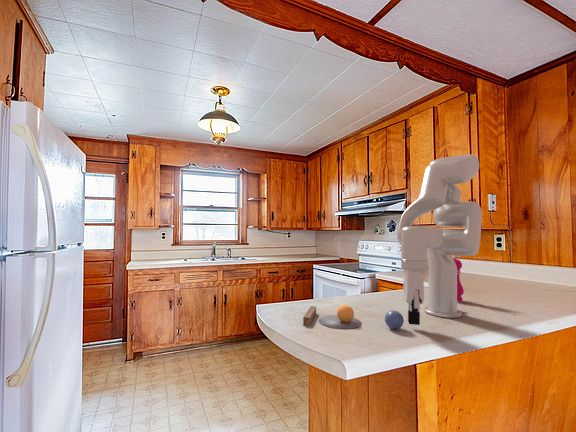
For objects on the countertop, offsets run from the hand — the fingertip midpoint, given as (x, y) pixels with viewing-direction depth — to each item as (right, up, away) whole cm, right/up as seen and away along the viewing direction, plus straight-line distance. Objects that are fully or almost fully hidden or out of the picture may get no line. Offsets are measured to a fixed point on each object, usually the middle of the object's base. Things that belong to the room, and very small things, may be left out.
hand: (413, 323), depth 94 cm
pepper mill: (+34, -4, +38) cm, 51 cm away
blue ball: (-6, +1, 0) cm, 7 cm away
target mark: (-22, -1, +5) cm, 23 cm away
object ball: (-21, +1, +5) cm, 21 cm away
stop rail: (-32, -1, +8) cm, 33 cm away
